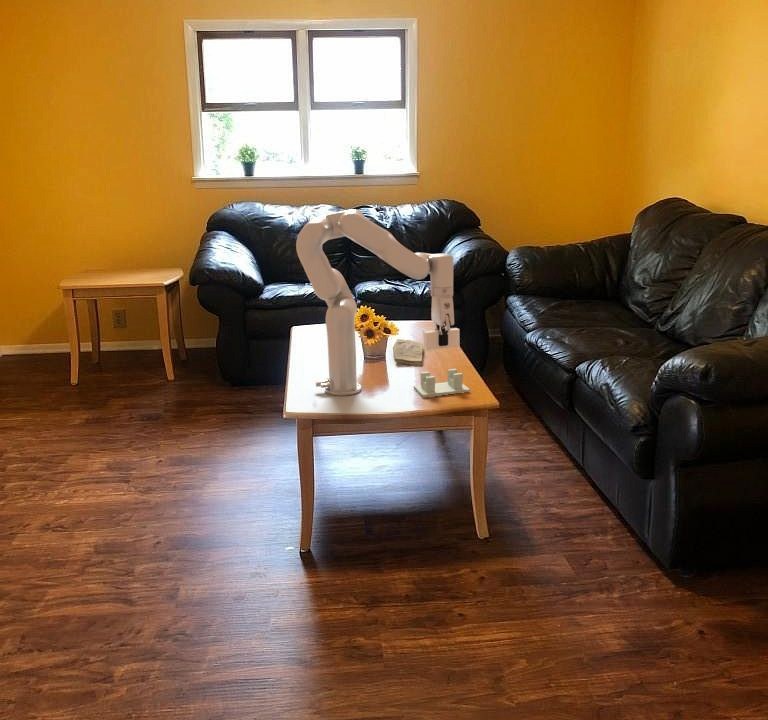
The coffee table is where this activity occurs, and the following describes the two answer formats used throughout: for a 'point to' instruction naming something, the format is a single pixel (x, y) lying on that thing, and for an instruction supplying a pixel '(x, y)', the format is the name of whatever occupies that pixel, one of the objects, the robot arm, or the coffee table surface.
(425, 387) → the grey mounting plate
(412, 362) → the stone slab
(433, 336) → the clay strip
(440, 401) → the coffee table surface
